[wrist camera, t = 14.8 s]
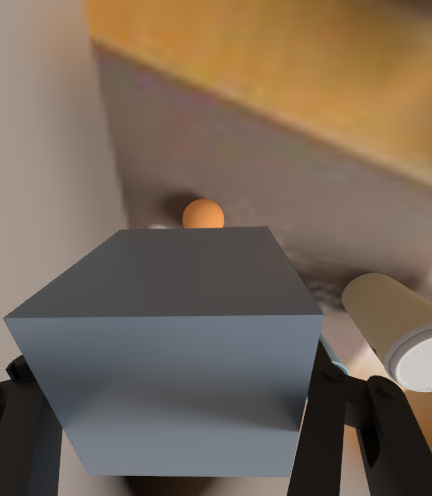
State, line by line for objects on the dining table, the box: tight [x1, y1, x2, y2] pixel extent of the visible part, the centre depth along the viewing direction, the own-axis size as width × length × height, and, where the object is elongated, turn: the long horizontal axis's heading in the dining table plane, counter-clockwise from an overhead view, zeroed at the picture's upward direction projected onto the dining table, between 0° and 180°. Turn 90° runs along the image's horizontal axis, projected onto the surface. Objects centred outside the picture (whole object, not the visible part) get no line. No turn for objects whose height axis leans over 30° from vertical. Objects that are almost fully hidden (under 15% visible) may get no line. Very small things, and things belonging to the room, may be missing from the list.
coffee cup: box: [342, 273, 432, 392], centre depth 27 cm, size 9×9×12 cm
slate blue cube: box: [3, 226, 324, 477], centre depth 13 cm, size 10×10×9 cm
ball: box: [183, 199, 224, 228], centre depth 26 cm, size 5×5×5 cm
